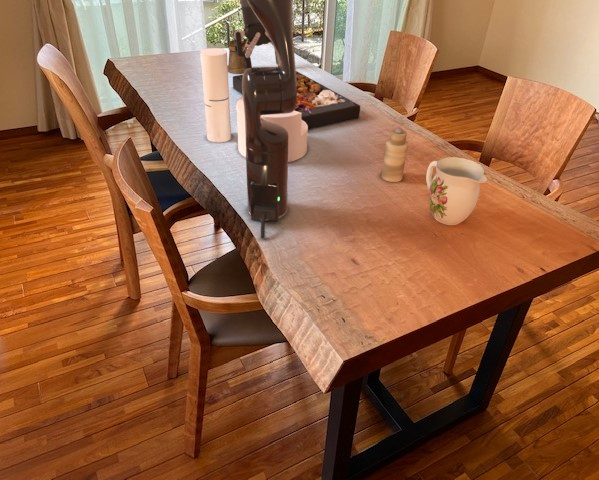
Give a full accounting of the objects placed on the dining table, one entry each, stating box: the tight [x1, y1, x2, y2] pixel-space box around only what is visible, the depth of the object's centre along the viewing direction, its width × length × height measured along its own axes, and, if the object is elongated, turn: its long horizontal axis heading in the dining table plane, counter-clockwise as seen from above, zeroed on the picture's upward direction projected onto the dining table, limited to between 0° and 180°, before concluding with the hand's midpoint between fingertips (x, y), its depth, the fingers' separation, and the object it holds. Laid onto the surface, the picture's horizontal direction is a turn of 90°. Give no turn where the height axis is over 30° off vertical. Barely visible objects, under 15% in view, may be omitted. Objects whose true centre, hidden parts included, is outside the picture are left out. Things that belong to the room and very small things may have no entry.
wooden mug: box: [227, 37, 254, 74], centre depth 198 cm, size 9×14×18 cm, turn 112°
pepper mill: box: [380, 127, 409, 183], centre depth 129 cm, size 6×6×14 cm
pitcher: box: [425, 156, 488, 226], centre depth 114 cm, size 11×18×14 cm, turn 24°
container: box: [235, 96, 309, 163], centre depth 141 cm, size 20×20×13 cm
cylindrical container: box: [199, 47, 232, 144], centre depth 142 cm, size 7×7×25 cm
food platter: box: [232, 70, 361, 131], centre depth 172 cm, size 45×25×10 cm, turn 32°
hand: (264, 67), depth 134 cm, fingers open, 8 cm apart
